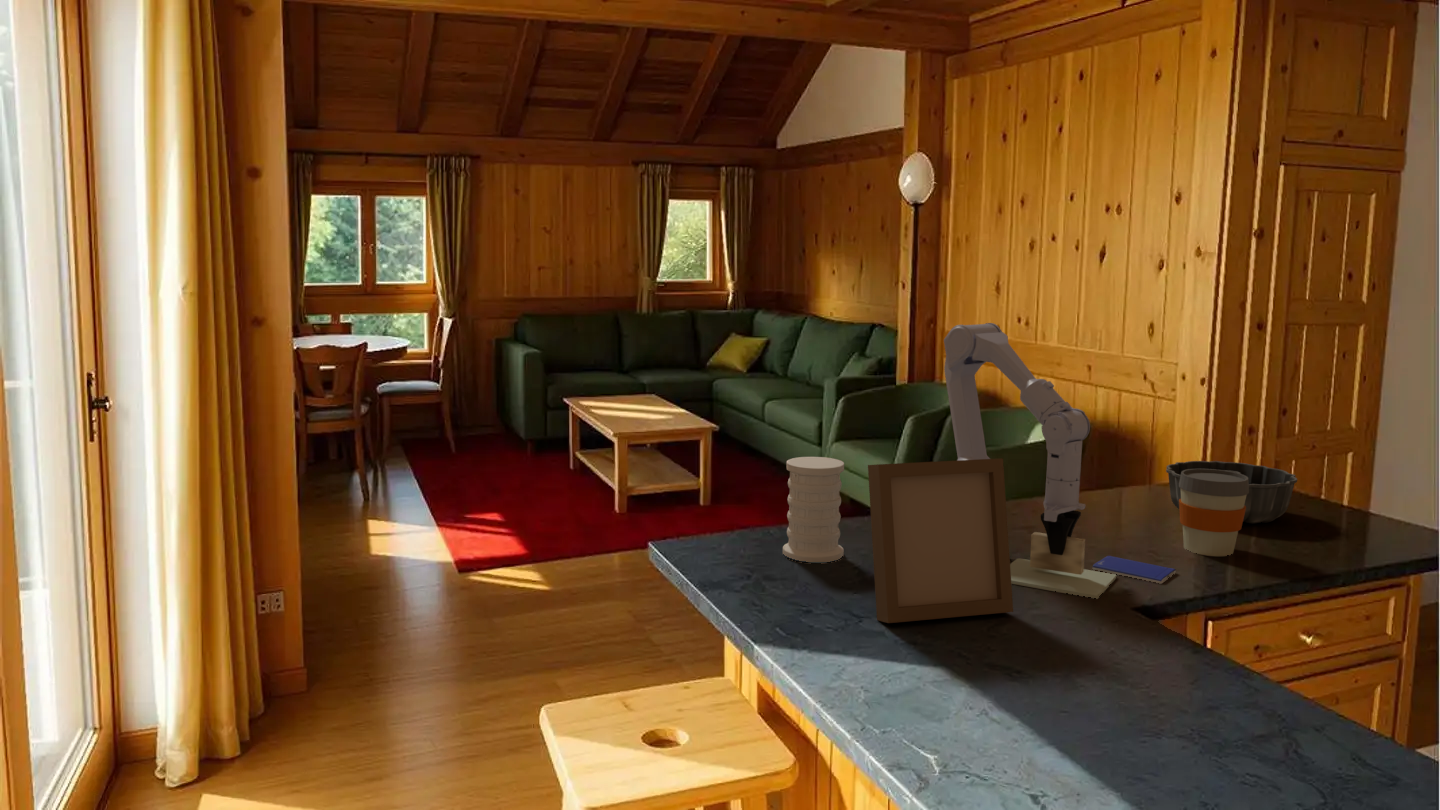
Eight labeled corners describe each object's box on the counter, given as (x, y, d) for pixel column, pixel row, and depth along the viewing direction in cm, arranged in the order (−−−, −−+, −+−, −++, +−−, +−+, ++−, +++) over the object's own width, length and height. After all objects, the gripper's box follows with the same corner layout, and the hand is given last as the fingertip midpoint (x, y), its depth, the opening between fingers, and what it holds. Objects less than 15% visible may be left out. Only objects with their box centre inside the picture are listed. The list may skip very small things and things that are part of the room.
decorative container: (822, 567, 202) (825, 471, 199) (770, 555, 209) (772, 463, 206) (854, 553, 211) (857, 461, 208) (803, 542, 218) (806, 453, 215)
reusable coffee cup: (1229, 542, 222) (1236, 469, 219) (1253, 560, 209) (1260, 483, 207) (1165, 539, 223) (1171, 467, 220) (1185, 557, 210) (1191, 481, 208)
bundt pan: (1139, 503, 254) (1142, 460, 252) (1241, 499, 258) (1245, 457, 257) (1209, 533, 228) (1213, 486, 227) (1321, 529, 233) (1325, 482, 231)
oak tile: (1030, 566, 199) (1031, 534, 198) (1033, 564, 200) (1034, 532, 199) (1080, 574, 194) (1082, 541, 193) (1083, 571, 195) (1085, 539, 195)
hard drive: (1092, 564, 202) (1161, 578, 194) (1108, 554, 208) (1176, 568, 200) (1091, 572, 202) (1160, 587, 194) (1108, 562, 208) (1175, 576, 201)
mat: (993, 580, 195) (993, 577, 195) (1017, 561, 207) (1017, 558, 207) (1097, 599, 186) (1097, 595, 186) (1116, 577, 197) (1116, 574, 197)
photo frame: (1012, 617, 176) (1021, 465, 172) (887, 629, 171) (893, 471, 167) (968, 588, 190) (975, 447, 187) (851, 598, 185) (856, 452, 181)
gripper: (1075, 488, 186) (1070, 565, 188) (1096, 473, 198) (1091, 546, 200) (1033, 483, 190) (1029, 559, 192) (1056, 468, 202) (1052, 540, 204)
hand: (1058, 552), depth 196 cm, fingers closed on oak tile, 2 cm apart
